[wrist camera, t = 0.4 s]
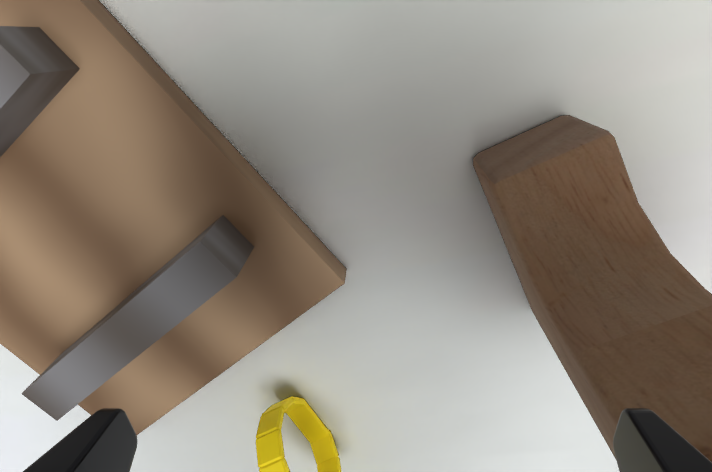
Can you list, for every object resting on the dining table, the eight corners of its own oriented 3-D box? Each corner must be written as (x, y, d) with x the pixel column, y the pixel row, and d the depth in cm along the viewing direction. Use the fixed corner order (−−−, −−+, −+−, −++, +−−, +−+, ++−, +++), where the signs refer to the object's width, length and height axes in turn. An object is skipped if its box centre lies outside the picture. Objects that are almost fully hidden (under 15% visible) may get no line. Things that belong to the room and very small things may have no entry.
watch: (354, 439, 29) (353, 541, 23) (315, 456, 29) (305, 559, 24) (297, 372, 26) (281, 467, 21) (256, 392, 27) (231, 489, 22)
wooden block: (468, 154, 22) (774, 553, 5) (567, 110, 21) (1354, 413, 4) (532, 313, 24) (860, 898, 8) (622, 280, 24) (1206, 861, 7)
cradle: (138, 422, 28) (97, 489, 24) (-183, 163, 23) (-306, 191, 19) (346, 269, 24) (340, 317, 20) (10, -96, 19) (-97, -134, 14)
